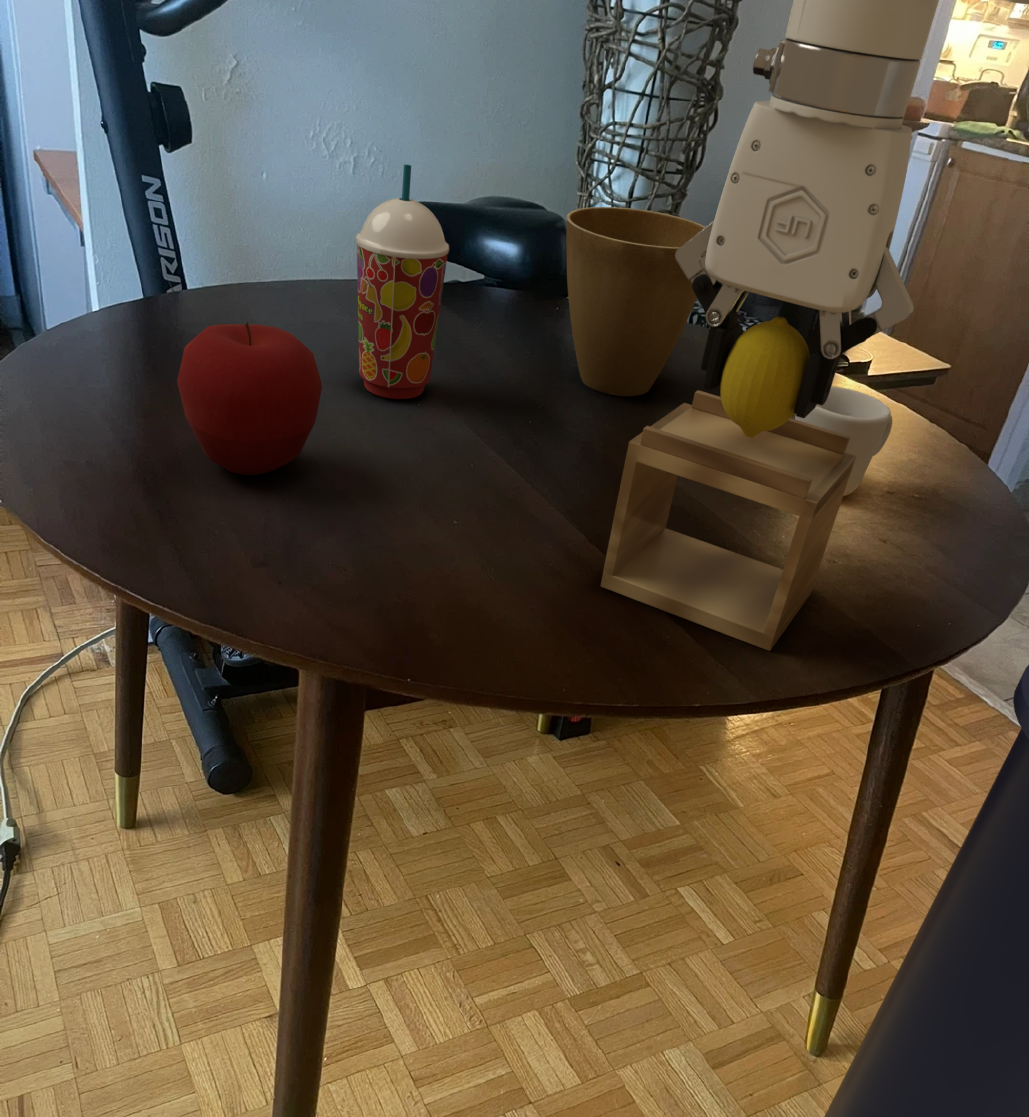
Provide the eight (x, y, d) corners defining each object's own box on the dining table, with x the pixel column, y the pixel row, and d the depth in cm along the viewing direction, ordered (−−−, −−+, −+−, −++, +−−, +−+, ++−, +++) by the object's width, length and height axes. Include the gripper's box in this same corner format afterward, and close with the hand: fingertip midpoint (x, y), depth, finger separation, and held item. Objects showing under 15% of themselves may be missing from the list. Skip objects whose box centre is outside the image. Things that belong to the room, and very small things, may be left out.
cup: (839, 459, 103) (865, 379, 99) (901, 494, 98) (932, 411, 94) (758, 472, 98) (781, 388, 94) (819, 510, 93) (847, 423, 88)
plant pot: (570, 349, 120) (593, 198, 111) (696, 381, 117) (732, 227, 108) (523, 387, 109) (545, 221, 100) (662, 423, 105) (699, 255, 96)
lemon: (696, 419, 73) (724, 301, 69) (770, 422, 75) (802, 306, 70) (725, 452, 69) (757, 329, 64) (803, 455, 70) (839, 334, 66)
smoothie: (352, 370, 107) (361, 150, 95) (436, 378, 108) (454, 162, 96) (348, 401, 100) (356, 168, 88) (437, 409, 101) (457, 180, 89)
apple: (252, 510, 80) (250, 357, 73) (151, 465, 84) (140, 315, 77) (347, 468, 88) (352, 326, 81) (250, 429, 92) (248, 290, 85)
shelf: (810, 594, 80) (861, 439, 73) (769, 651, 73) (822, 485, 66) (653, 538, 85) (687, 386, 78) (599, 586, 77) (632, 424, 70)
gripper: (676, 62, 60) (618, 376, 70) (986, 121, 54) (873, 453, 65) (722, 59, 66) (662, 350, 76) (1007, 113, 60) (900, 420, 70)
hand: (760, 395), depth 70 cm, fingers closed on lemon, 5 cm apart
